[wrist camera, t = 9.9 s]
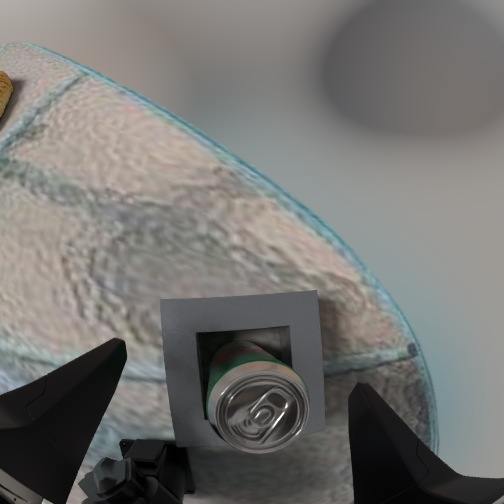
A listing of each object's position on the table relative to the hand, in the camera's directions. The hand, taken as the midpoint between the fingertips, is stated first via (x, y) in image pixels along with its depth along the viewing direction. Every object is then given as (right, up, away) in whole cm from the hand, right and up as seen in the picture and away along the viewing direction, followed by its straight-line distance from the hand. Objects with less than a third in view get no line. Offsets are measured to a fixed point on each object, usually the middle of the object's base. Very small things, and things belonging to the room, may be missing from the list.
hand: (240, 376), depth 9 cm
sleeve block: (0, -5, +13) cm, 14 cm away
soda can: (-1, -6, +13) cm, 14 cm away
